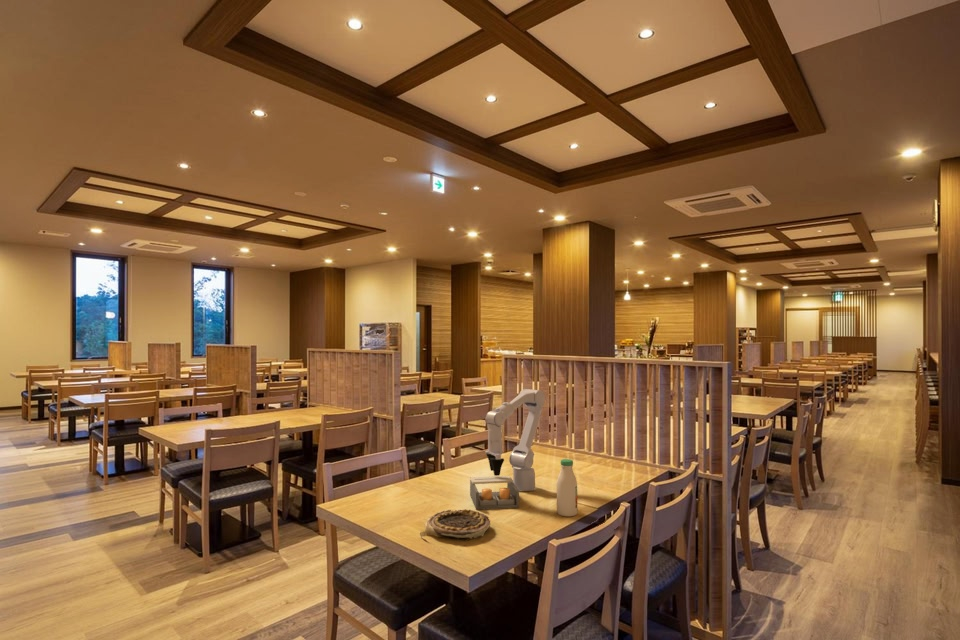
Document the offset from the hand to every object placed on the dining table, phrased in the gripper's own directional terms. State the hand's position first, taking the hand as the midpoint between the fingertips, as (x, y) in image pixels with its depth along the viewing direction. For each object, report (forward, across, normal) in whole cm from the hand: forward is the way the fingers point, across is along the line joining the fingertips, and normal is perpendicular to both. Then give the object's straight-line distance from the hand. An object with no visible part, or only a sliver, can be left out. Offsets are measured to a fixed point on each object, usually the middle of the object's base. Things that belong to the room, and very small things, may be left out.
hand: (495, 472), depth 209 cm
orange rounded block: (+9, +10, +2) cm, 14 cm away
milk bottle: (+10, +24, +23) cm, 35 cm away
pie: (+10, +35, -19) cm, 41 cm away
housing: (+10, +6, -2) cm, 12 cm away
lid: (+3, 0, -2) cm, 4 cm away
